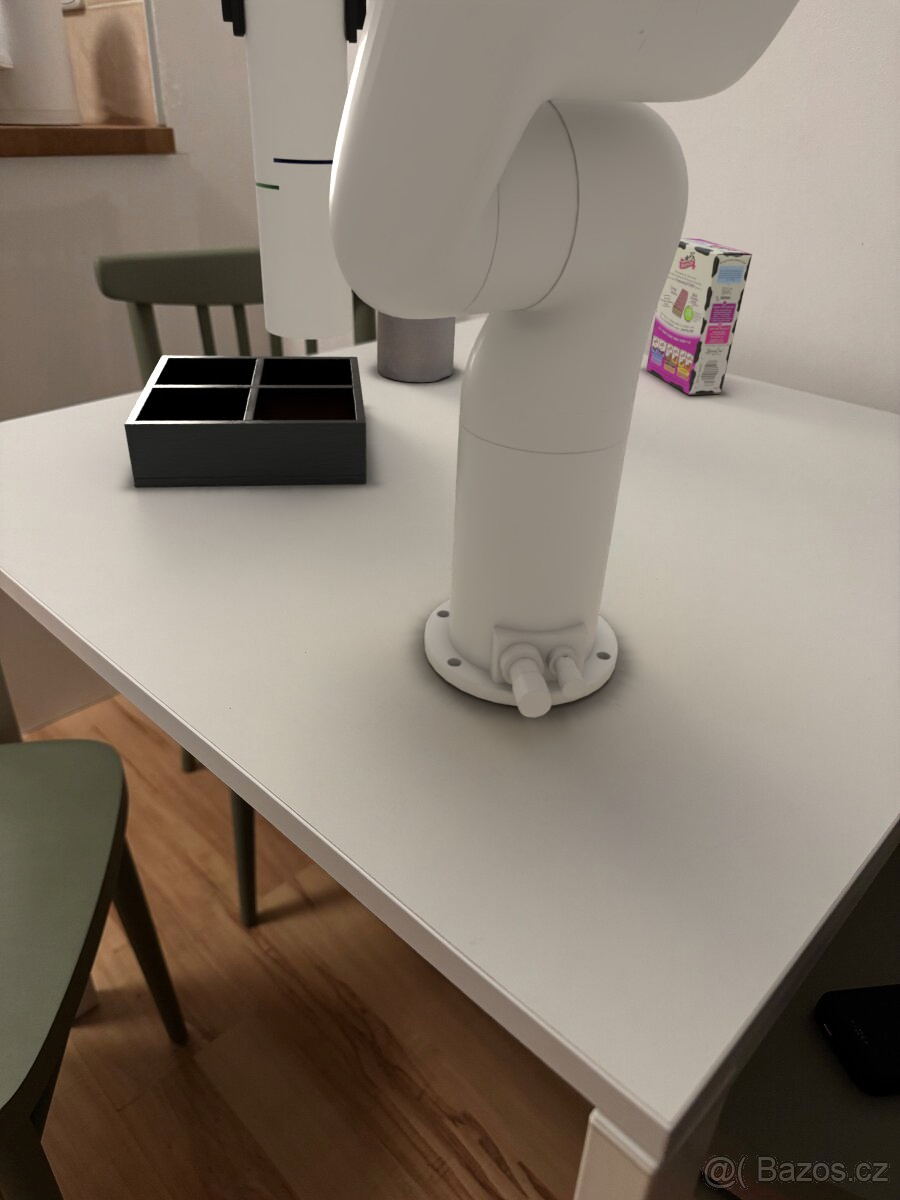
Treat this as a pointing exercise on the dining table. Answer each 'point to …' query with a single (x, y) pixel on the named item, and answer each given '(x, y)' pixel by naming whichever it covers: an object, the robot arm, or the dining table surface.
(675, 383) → the candy bar box
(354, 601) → the dining table surface
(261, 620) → the dining table surface
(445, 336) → the pillar candle
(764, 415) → the dining table surface
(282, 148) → the cylindrical container
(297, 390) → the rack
